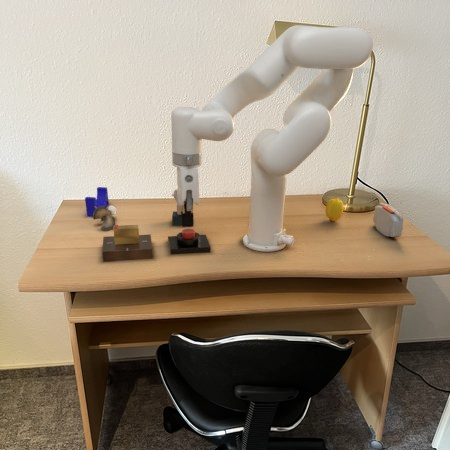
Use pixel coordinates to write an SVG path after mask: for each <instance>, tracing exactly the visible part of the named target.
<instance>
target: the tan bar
mask: <svg viewBox="0 0 450 450" xmlns="http://www.w3.org/2000/svg"><path fill="white" fill-rule="evenodd" d="M139 231H140V230H139V224H126V225H125V224H124V225H123V224H122V225H119V224H115V225H114V228H113V236H114V240H115V245H117V244H139V235H140V232H139Z"/></svg>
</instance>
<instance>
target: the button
mask: <svg viewBox="0 0 450 450" xmlns="http://www.w3.org/2000/svg"><path fill="white" fill-rule="evenodd" d="M181 232H182V237H183V238H186V239H192V238H195V232H196V230H195V229H193V228H184V229H182V230H181Z"/></svg>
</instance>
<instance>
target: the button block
mask: <svg viewBox="0 0 450 450" xmlns="http://www.w3.org/2000/svg"><path fill="white" fill-rule="evenodd" d="M167 244H168V249H169V254H170V256H171V255H172V256H173V255H175V256H176V255H191V254H208V253H209V254H210V253H211V245H210V242H209V239H208V236H207V235H206V234H201V233H199V232H196V231H195V238H192V239H186V238H183V237H182V231H181V232H179V233H177V234H176V235H171V236H170V235H168V236H167Z"/></svg>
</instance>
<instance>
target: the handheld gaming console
mask: <svg viewBox="0 0 450 450" xmlns="http://www.w3.org/2000/svg"><path fill="white" fill-rule="evenodd" d="M372 221H373V223H374V225H375V229H376V230H377V231H378V232H379V233H381V234H382V235H383V236H385V237H391V238H400V237H401V236H402V234H403V227H404V217H403V216H402V214H401V213H400V211H399V210H398V209H396V208H394V207H393V206H391V205H390V204H389V203H384V202H380V203H378V205H375V206H374V212H373V216H372Z"/></svg>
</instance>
